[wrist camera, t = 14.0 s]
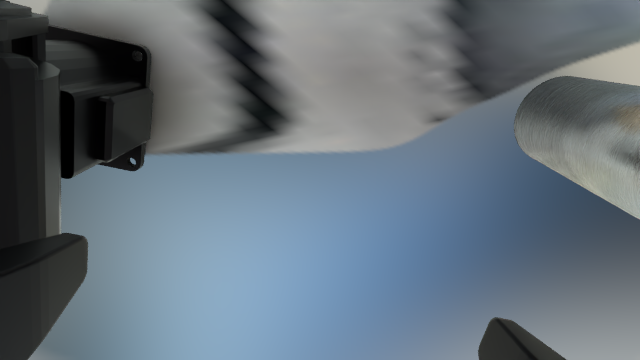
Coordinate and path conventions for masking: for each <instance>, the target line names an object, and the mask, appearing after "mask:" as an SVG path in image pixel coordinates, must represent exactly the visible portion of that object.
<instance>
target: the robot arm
mask: <svg viewBox="0 0 640 360" xmlns="http://www.w3.org/2000/svg"><path fill="white" fill-rule="evenodd" d="M137 51H140V52H141V53H142V60H141V61H140V60H138V59H137V58H136V52H137ZM150 65H151V54H150V52H149V50H148V49H147V48H146V47H145V46H142V45H139V44H134V43H129V42H125V41H120V40H116V39H111V38H107V37H102V36H98V35H93V34H88V33H84V32H79V31H75V30H70V29H66V28H61V27H56V26H52V25H48V16H45V15H41V14H36V13H31V8H30V7H26V6H22V5H18V4H13V3H10V2H9V1H5V0H0V360H28V358H29V357H30V356H31V355H32V354H33V352H34V351H35V350H36V349H37V347H38V346H39V345H40V344H41V342H42V341H43V340H44V338H45V337H46V335H47V334H48V333H49V331H50V330H51V328H52V327H53V325H54V324H55V322H56V321H57V320H58V318H59V317H60V315H61V314H62V312H63V311H64V309H65V308H66V306H67V305H68V303H69V302H70V300H71V299H72V297H73V296H74V294H75V293H76V291H77V290H78V288H79V287H80V285H81V284H82V283H83V281H84V279H85V277H86V274H87V260H88V258H87V257H88V242H87V239H86V238H85V237H84V236H80V235H75V234H71V233H62V234H61V178H65V179H69V178H72V177H74V176H76V175H78V174H80V173H82V172H83V171H85V170H87V169H89V168H91V167H93V166H95V165H97V164H99V165H104V166H109V167H113V168H118V169H123V170H128V171H136V170H138V169H139V168H141V167H142V166H143V163H144V154H145V142H146V141H148V140H149V139H150V131H151V117H152V103H153V92H152V91H151V89H150V88H149V80H150ZM130 158H133V159H135V161H136V165H134V164H132V163H131V162H130ZM478 356H479V360H566V359H565V358H563V357H562V356H561V355H559V354H558V353H557V352H555V351H554V350H552V349H551V348H550V347H548V346H547V345H545V344H544V343H543V342H541V341H540V340H539V339H537V338H536V337H534V336H533V335H532V334H530V333H529V332H527V331H526V330H525V329H523V328H522V327H521V326H519V325H518V324H517V323H515V322H514V321H511V320H508V319H503V318H496V317H495V318H493V319H492V320H491V321H490V322H489V324H488V327H487V329H486V331H485V334H484V336H483V338H482V341H481V343H480V346H479V350H478Z"/></svg>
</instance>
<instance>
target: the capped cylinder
mask: <svg viewBox="0 0 640 360" xmlns="http://www.w3.org/2000/svg"><path fill="white" fill-rule="evenodd" d="M514 133H515V137H516V140H517V142H518V144H519V146H520V147H521V149H522V150H523V151H524V152H525V153H526V154H527V155H529V156H530V157H531V158H533V159H535V160H537V161H538V162H540V163H542V164H544V165H545V166H547V167H549V168H551V169H553V170H554V171H556V172H558V173H559V174H561V175H563V176H565V177H566V178H568V179H570V180H572V181H573V182H575V183H577V184H579V185H580V186H582V187H584V188H586V189H587V190H589V191H591V192H593V193H594V194H596V195H598V196H600V197H601V198H603V199H605V200H606V201H608V202H610V203H612V204H614V205H615V206H617V207H619V208H620V209H622V210H624V211H626V212H627V213H629V214H631V215H633V216H634V217H636V218H638V219H640V86H635V85H628V84H620V83H614V82H607V81H600V80H593V79H586V78H579V77H571V76H563V77H557V78H553V79H550V80H547V81H545V82H543V83H541V84H540V85H538V86H537V87H536V88H534V89H533V90H532V91H531V92H530V93H529V94H528V95H527V96H526V97H525V98H524V100H523V101H522V103H521V104H520V106H519V108H518V110H517V113H516V117H515V122H514Z"/></svg>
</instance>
